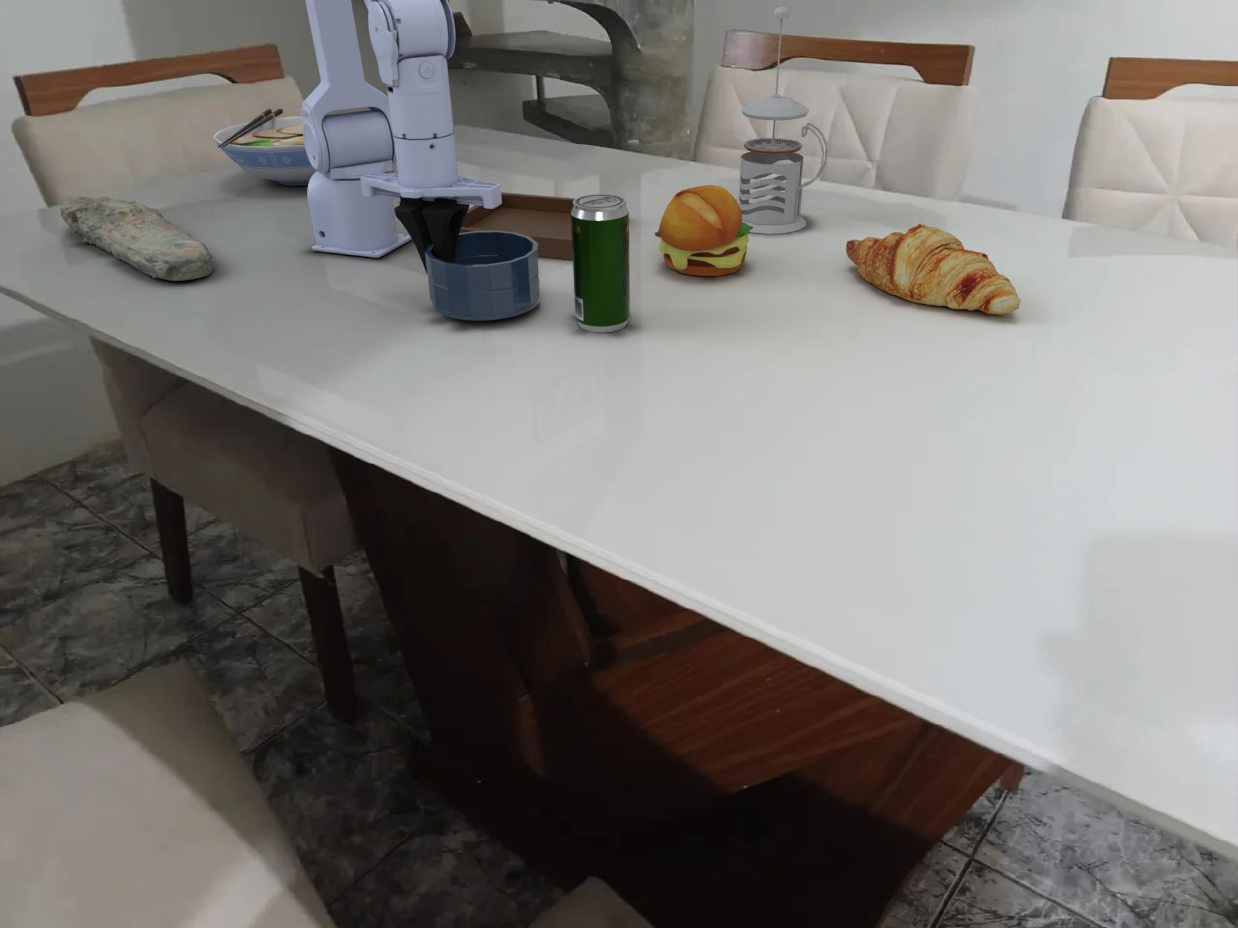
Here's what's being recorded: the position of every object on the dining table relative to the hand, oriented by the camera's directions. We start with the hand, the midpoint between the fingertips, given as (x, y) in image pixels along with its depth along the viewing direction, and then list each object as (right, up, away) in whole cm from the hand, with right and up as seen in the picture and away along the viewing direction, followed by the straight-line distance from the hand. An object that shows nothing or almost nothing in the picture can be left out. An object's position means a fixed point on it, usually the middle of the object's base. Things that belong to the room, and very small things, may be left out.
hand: (439, 271), depth 96 cm
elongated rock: (-41, +7, +19) cm, 45 cm away
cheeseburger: (+28, +2, +10) cm, 30 cm away
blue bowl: (+5, -3, 0) cm, 6 cm away
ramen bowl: (-30, +23, +47) cm, 61 cm away
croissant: (+50, -2, +2) cm, 50 cm away
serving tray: (+7, +9, +22) cm, 25 cm away
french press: (+38, +11, +24) cm, 47 cm away
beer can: (+17, -6, -4) cm, 18 cm away
